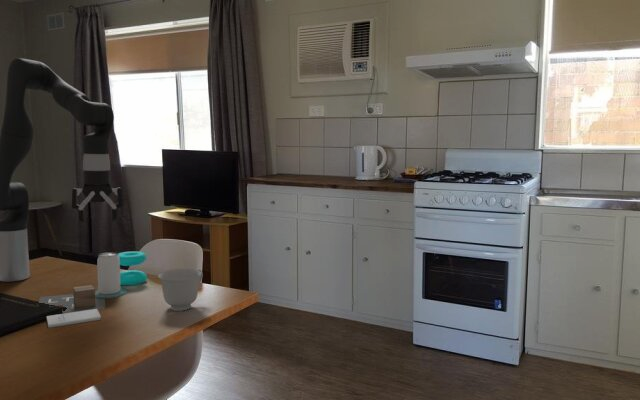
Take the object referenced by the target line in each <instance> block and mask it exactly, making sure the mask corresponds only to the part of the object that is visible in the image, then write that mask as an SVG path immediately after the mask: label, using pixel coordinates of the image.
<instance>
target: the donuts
mask: <svg viewBox="0 0 640 400" xmlns="http://www.w3.org/2000/svg"><path fill="white" fill-rule="evenodd" d="M118 257H119V259H120V266H125V267H129V266H130V267H132V266H137V265H141V264H143V263H145V261H146V260H147V254H146V253H144V252H143V251H135V250H134V251H130V250H129V251H124V252H119V253H118ZM147 279H148V276H147V274H146V272H144V271H142V270H135V269H134V270H132V269H131V270H126V271H122V272H120V284H121V286H135V285H140V284H143V283H146V281H147Z"/></svg>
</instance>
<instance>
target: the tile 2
mask: <svg viewBox="0 0 640 400" xmlns="http://www.w3.org/2000/svg"><path fill="white" fill-rule="evenodd" d="M95 305H96V306H91V307H85V308H78V309H76V307H75V305H74V301H69V302H64V305H63V307H66V308H67V309H66V310H65V311H63V310H62V311H61V312H62V313H61V314H65V313H72V312H78V311H85V310H92V309H97V310H102V309H103V310H105V309H106V298H95Z"/></svg>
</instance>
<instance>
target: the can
mask: <svg viewBox="0 0 640 400" xmlns="http://www.w3.org/2000/svg"><path fill="white" fill-rule="evenodd" d="M118 254H119V253H118V252H103V253H99V254H98V258H97V259H96V261H97V263H96V264H97V266H96V267H97V268H96V269H97V290H98V292H99V293H100V294H102V295H110V294H116V293H118V292H120V290H121V288H122V287H121V286H122V285H121V284H120V273H121V265H120V259H119V257H118Z"/></svg>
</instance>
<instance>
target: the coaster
mask: <svg viewBox="0 0 640 400" xmlns="http://www.w3.org/2000/svg"><path fill="white" fill-rule="evenodd" d="M127 293H128V289H126V288H123V287H121V290H120V292H118V293H116V294H110V295H102V294H100V293H99V292H98V289H97V290H95V299H98V298H105V299H111V298H112V299H113V298H119V297H122V296H125V295H126V294H127Z"/></svg>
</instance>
